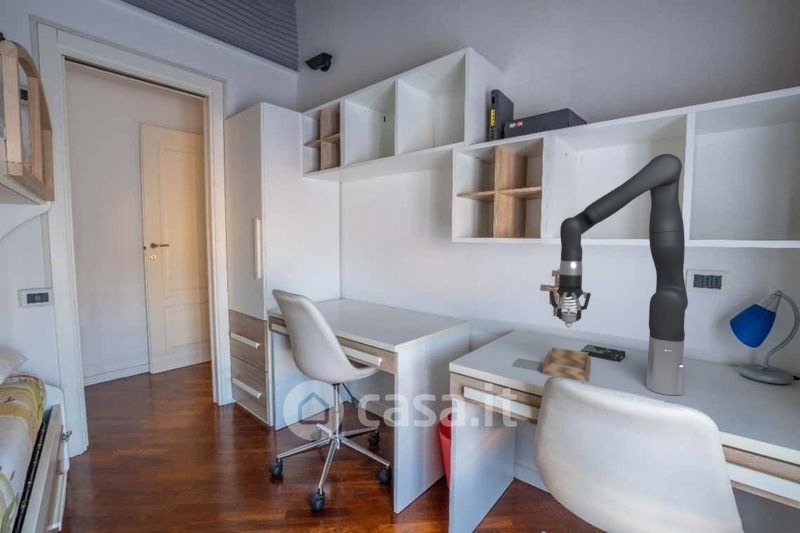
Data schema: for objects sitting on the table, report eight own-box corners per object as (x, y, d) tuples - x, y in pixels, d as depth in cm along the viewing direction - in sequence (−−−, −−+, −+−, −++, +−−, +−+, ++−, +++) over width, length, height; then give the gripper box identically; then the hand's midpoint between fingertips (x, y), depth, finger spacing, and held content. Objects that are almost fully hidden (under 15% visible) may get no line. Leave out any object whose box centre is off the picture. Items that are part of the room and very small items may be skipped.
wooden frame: (590, 368, 144) (591, 352, 143) (588, 381, 131) (589, 364, 130) (548, 361, 151) (548, 347, 151) (542, 374, 138) (543, 357, 137)
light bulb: (577, 330, 136) (579, 296, 135) (560, 328, 138) (561, 295, 137) (576, 326, 141) (578, 294, 140) (560, 325, 143) (561, 293, 142)
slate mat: (541, 363, 149) (541, 361, 149) (537, 370, 142) (538, 368, 141) (518, 359, 154) (518, 358, 154) (513, 366, 146) (513, 364, 146)
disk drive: (625, 357, 159) (586, 350, 169) (625, 351, 159) (587, 343, 169) (620, 363, 151) (580, 355, 161) (620, 356, 151) (580, 349, 161)
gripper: (593, 273, 138) (591, 319, 139) (550, 271, 145) (549, 315, 146) (592, 275, 131) (590, 324, 133) (548, 273, 138) (546, 319, 140)
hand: (568, 319), depth 139 cm, fingers closed on light bulb, 5 cm apart
